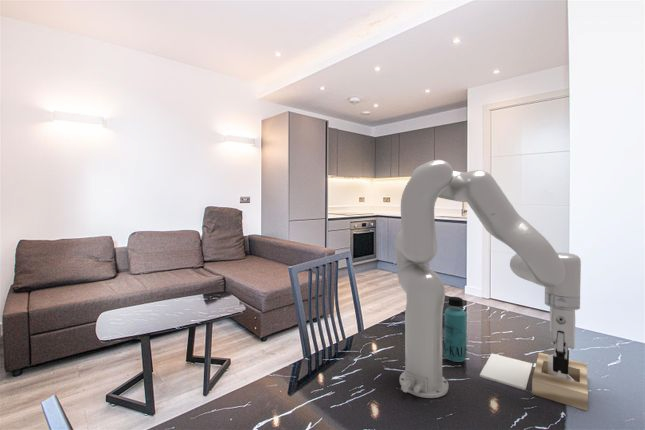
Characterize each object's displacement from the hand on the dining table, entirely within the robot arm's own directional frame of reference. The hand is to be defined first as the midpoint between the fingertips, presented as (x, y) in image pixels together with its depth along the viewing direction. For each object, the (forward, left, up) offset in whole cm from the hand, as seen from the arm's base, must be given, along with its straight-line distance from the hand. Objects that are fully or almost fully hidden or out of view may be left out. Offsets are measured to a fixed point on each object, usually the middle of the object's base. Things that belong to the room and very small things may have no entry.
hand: (560, 367), depth 86 cm
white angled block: (0, 0, -5) cm, 5 cm away
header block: (0, 0, -5) cm, 5 cm away
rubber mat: (0, +13, -5) cm, 14 cm away
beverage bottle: (-4, +26, -5) cm, 27 cm away
